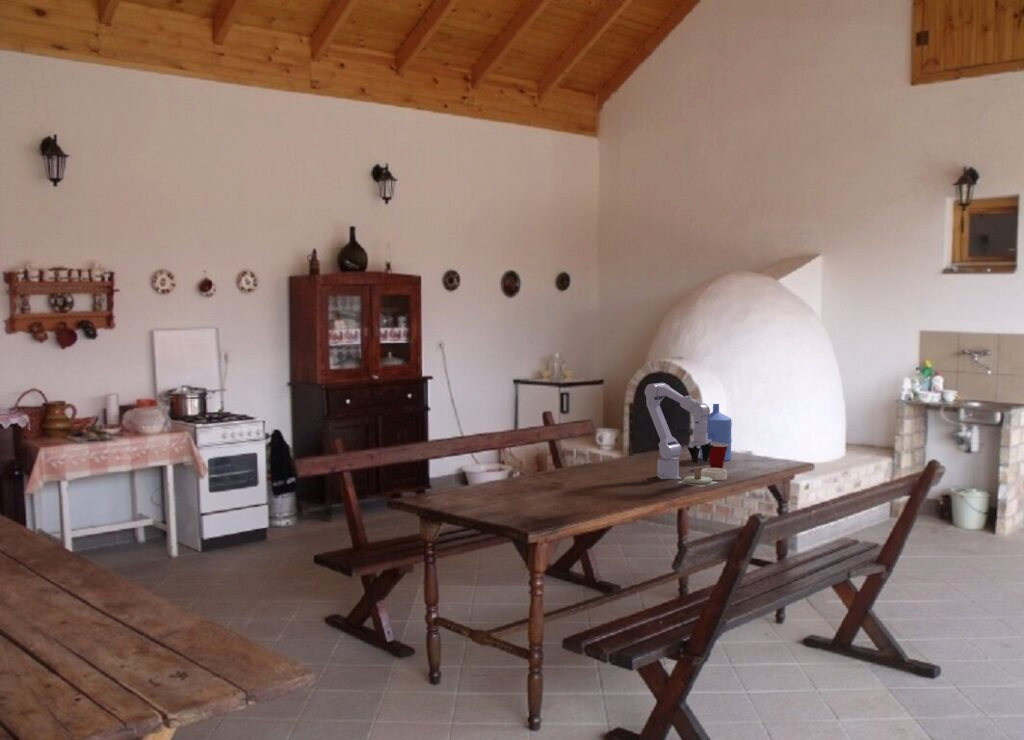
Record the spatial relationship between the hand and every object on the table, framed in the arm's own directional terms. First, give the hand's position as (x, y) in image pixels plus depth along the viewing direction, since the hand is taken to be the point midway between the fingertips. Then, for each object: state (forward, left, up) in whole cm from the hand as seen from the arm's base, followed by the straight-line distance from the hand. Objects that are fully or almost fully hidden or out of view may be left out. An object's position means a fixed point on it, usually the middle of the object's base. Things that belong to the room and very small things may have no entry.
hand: (700, 461), depth 410 cm
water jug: (+24, +57, -10) cm, 63 cm away
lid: (-1, -1, -9) cm, 9 cm away
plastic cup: (+18, +34, -10) cm, 40 cm away
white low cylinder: (+9, +8, -9) cm, 15 cm away
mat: (-1, -1, -9) cm, 10 cm away
